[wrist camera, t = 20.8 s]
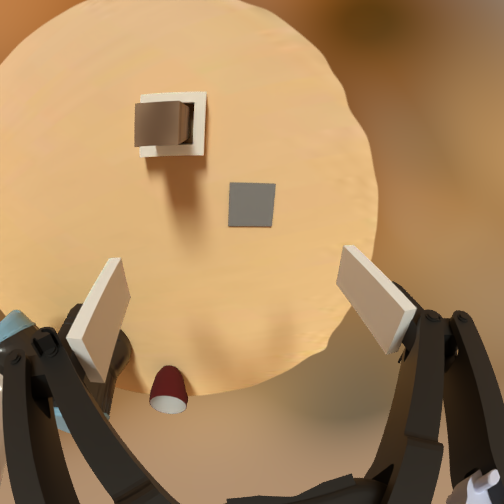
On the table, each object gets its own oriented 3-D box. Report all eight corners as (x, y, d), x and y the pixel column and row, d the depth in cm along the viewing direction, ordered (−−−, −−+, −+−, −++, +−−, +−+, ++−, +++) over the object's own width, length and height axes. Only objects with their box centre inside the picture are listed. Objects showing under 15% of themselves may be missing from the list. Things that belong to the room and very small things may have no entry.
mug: (201, 377, 59) (202, 411, 51) (177, 388, 61) (176, 420, 52) (170, 355, 55) (167, 391, 46) (146, 367, 56) (141, 401, 47)
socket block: (144, 154, 36) (139, 157, 34) (145, 96, 32) (140, 94, 30) (204, 153, 38) (203, 155, 35) (206, 94, 34) (206, 91, 31)
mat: (228, 225, 43) (228, 226, 43) (229, 182, 40) (230, 182, 40) (271, 225, 44) (271, 226, 44) (275, 183, 41) (275, 184, 41)
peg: (158, 139, 36) (134, 146, 24) (159, 109, 34) (135, 103, 22) (189, 137, 36) (178, 144, 24) (190, 108, 34) (179, 100, 22)
